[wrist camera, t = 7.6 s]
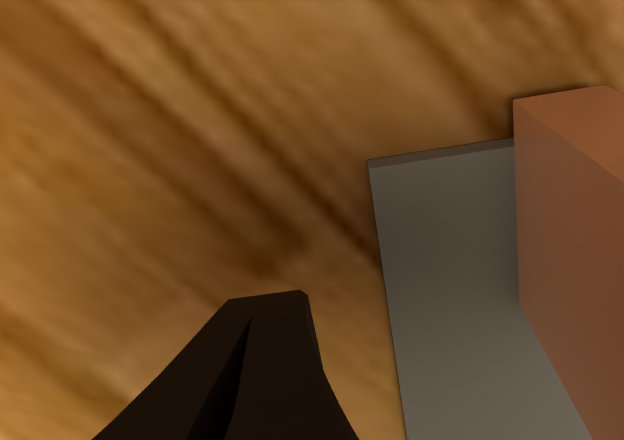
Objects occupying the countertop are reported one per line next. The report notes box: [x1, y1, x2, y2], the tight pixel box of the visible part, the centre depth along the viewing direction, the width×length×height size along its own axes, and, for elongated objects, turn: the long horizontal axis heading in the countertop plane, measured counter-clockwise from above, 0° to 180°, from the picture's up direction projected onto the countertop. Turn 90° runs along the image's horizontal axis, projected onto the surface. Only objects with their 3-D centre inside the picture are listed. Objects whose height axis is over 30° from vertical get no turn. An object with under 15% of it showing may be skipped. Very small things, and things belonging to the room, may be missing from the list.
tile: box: [513, 85, 624, 440], centre depth 10 cm, size 5×2×6 cm, turn 10°
